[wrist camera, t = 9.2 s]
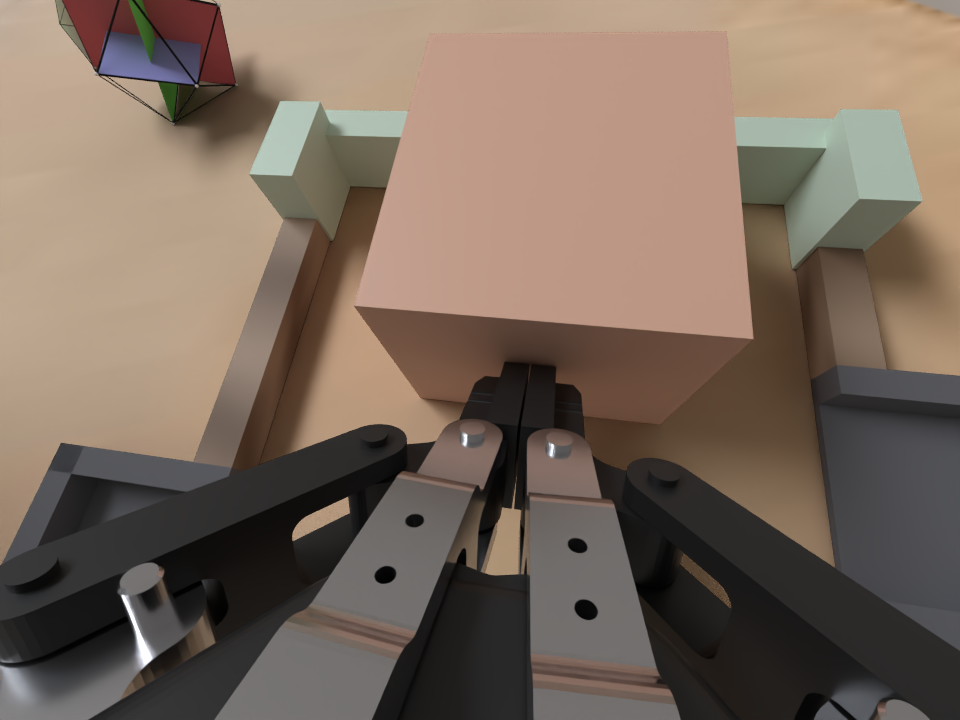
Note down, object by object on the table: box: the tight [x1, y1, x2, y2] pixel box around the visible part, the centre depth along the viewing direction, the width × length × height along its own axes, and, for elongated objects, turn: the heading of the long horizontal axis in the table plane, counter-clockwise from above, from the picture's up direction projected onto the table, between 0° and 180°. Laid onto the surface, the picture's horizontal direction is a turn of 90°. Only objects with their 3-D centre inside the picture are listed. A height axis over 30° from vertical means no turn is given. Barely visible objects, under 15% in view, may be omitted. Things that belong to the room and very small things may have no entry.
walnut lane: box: [193, 217, 887, 471], centre depth 15 cm, size 28×23×2 cm
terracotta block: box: [354, 31, 753, 425], centre depth 15 cm, size 10×9×8 cm
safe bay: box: [249, 101, 922, 269], centre depth 19 cm, size 5×23×4 cm, turn 82°
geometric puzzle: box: [55, 0, 238, 125], centre depth 23 cm, size 7×7×8 cm
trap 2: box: [0, 443, 242, 690], centre depth 15 cm, size 8×7×2 cm
